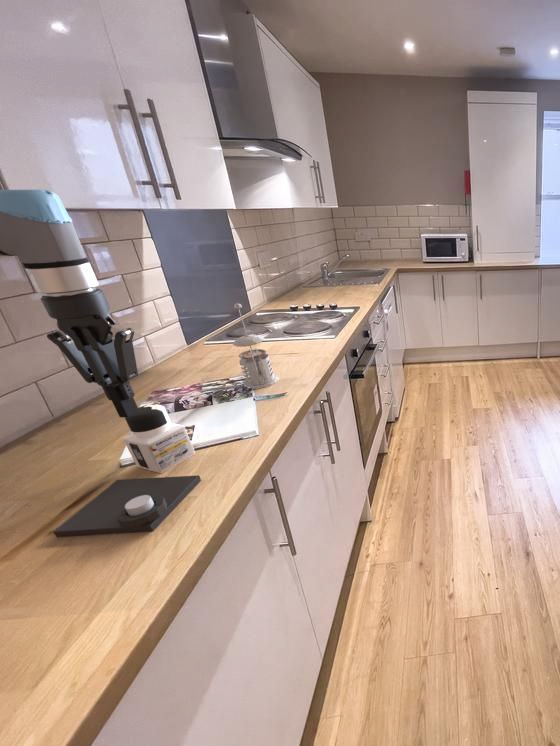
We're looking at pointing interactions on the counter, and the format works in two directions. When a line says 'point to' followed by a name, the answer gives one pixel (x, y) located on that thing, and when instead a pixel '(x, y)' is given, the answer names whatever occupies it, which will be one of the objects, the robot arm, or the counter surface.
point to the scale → (113, 517)
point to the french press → (254, 361)
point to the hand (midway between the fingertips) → (129, 413)
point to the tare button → (139, 505)
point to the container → (156, 439)
